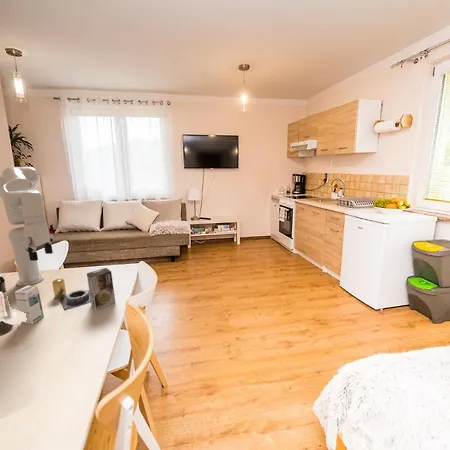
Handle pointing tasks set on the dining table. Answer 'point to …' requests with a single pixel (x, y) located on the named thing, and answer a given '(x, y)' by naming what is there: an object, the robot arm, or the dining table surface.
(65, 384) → the dining table surface
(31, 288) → the syrup box
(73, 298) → the ring fixture
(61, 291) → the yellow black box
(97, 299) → the coffee box
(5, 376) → the dining table surface
